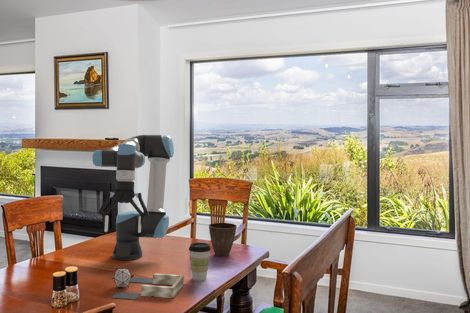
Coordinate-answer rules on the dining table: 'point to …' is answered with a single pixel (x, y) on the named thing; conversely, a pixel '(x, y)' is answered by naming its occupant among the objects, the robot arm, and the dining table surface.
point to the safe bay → (163, 290)
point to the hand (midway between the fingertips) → (122, 232)
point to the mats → (132, 295)
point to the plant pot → (222, 237)
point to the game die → (122, 277)
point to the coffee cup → (199, 260)
